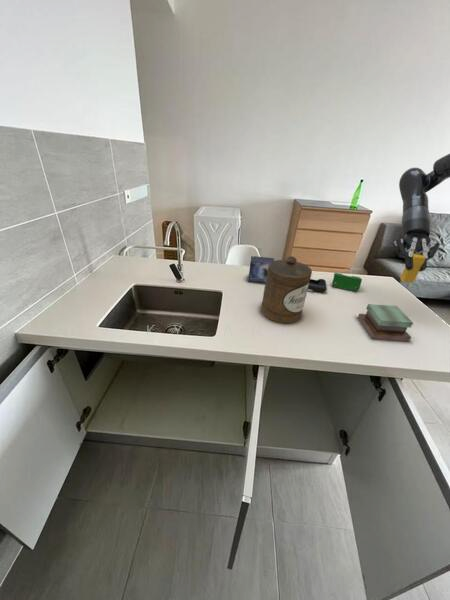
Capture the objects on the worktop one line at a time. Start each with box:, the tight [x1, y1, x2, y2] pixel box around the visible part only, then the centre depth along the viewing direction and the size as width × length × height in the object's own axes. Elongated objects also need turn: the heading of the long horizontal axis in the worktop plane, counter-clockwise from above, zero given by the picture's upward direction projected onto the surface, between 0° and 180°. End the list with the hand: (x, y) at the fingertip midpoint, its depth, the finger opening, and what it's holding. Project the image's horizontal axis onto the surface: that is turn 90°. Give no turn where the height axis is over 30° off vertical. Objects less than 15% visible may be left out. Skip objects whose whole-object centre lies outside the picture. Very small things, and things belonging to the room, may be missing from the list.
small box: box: [247, 255, 275, 284], centre depth 111 cm, size 11×6×10 cm, turn 83°
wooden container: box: [260, 255, 313, 324], centre depth 86 cm, size 15×15×22 cm
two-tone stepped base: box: [357, 303, 414, 342], centre depth 84 cm, size 12×12×7 cm
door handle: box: [307, 278, 328, 293], centre depth 112 cm, size 3×20×16 cm
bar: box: [399, 253, 426, 284], centre depth 81 cm, size 3×3×9 cm
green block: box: [331, 272, 363, 292], centre depth 111 cm, size 12×6×9 cm, turn 62°
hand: (416, 269), depth 79 cm, fingers closed on bar, 3 cm apart
